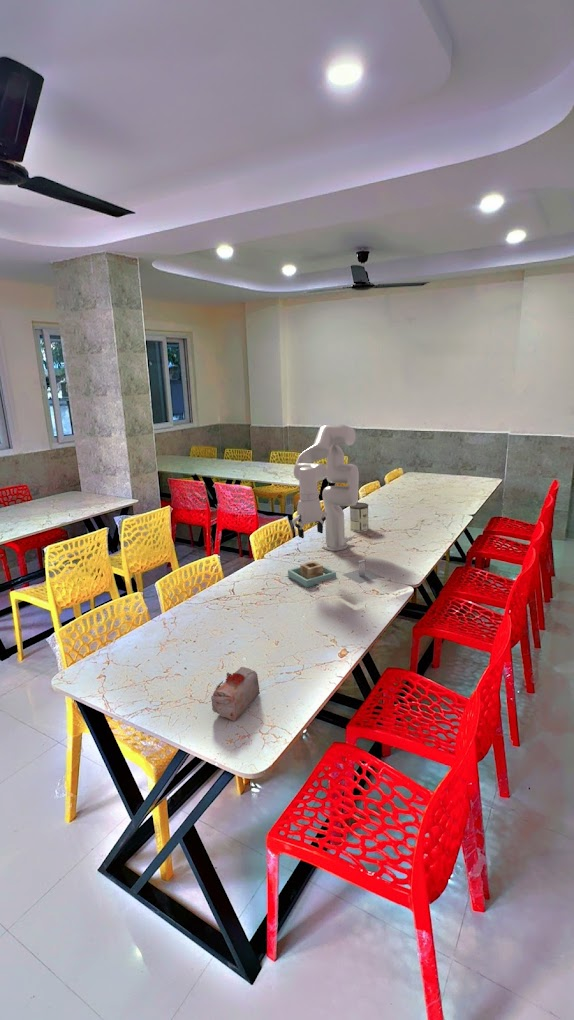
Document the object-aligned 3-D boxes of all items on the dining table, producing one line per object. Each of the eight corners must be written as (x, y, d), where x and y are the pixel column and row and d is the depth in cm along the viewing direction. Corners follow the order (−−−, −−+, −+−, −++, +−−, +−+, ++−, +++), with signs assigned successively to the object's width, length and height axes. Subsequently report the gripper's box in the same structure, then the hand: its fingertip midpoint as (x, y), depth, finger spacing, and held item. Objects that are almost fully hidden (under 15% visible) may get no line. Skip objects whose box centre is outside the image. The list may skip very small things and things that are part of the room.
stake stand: (363, 571, 225) (363, 553, 223) (381, 579, 215) (381, 561, 213) (342, 577, 219) (341, 559, 217) (359, 586, 209) (359, 568, 207)
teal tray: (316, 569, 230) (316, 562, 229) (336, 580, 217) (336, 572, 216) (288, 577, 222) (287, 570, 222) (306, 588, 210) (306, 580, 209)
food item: (235, 725, 130) (232, 692, 128) (210, 717, 134) (207, 684, 131) (262, 695, 142) (260, 664, 139) (238, 689, 145) (236, 658, 143)
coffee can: (354, 525, 291) (354, 501, 288) (371, 527, 286) (371, 503, 282) (346, 530, 283) (346, 506, 279) (363, 532, 278) (363, 508, 274)
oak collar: (314, 572, 224) (313, 560, 223) (323, 577, 218) (322, 565, 217) (300, 576, 221) (300, 564, 219) (309, 581, 215) (309, 569, 214)
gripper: (320, 491, 220) (322, 528, 225) (286, 498, 212) (289, 537, 217) (330, 494, 214) (332, 532, 219) (296, 502, 206) (298, 541, 210)
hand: (310, 534), depth 218 cm, fingers open, 9 cm apart
